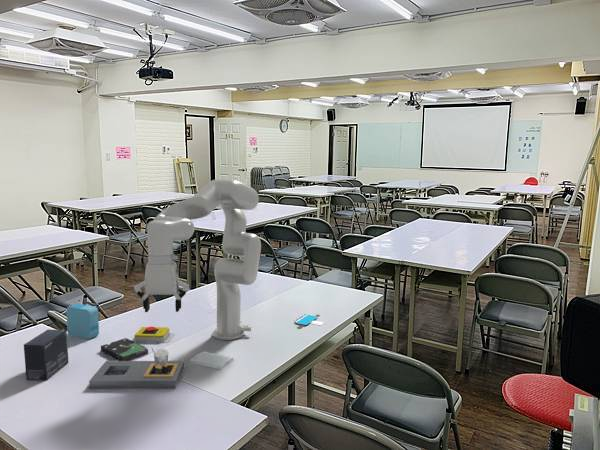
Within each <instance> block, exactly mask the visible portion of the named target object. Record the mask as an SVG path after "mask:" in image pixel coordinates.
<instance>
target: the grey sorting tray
mask: <svg viewBox="0 0 600 450" xmlns="http://www.w3.org/2000/svg"><path fill="white" fill-rule="evenodd" d="M185 367H186V366H185V360H168V363H167V375H156V368H155V360H130V361H118V360H106V361H105V362H104V363H103V364H102V365H101V366H100V368H99V369H98V370H96V372H95V374H94V375H93V376H92V377H91V378H90V379H89V381H88V387H89V390H98V389H99V390H100V389H101V390H103V389H104V390H109V389H110V390H111V389H114V390H115V389H116V390H117V389H119V390H120V389H121V390H122V389H126V390H127V389H129V390H130V389H131V390H132V389H135V390H136V389H138V390H141V389H142V390H143V389H150V390H151V389H177V386H178V383H179V382H180V379H181V377H182V374H183V373H184V371H185ZM111 374H114V375H111ZM116 374H117V375H116ZM119 374H120V375H119ZM122 374H123V375H122Z"/></svg>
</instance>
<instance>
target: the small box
mask: <svg viewBox="0 0 600 450" xmlns="http://www.w3.org/2000/svg"><path fill="white" fill-rule="evenodd" d="M67 334H68V332H67V329H46V330H45V331H44V332H42V333H40V334H39V335H37V336H35V337H34V338H32V339H30V340H29V341H27V342H26V343H24V344H23V354H24V355H23V356H24V364H25V365H24V366H25V379H26V381H48V380H49V379H50V378H52V377H53V376H54V375H56V373H58V372H59V371H60V370H61V369H62V368H64V367H65V366H66V365H67V364H69V352H68V351H69V350H68V338H67V337H68V335H67Z"/></svg>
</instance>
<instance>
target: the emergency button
mask: <svg viewBox="0 0 600 450" xmlns="http://www.w3.org/2000/svg"><path fill="white" fill-rule="evenodd" d="M174 337H175V333H174V332H173V333H172V332H171V333H170V327H164V326H161V327H160V326H159V327H158V326H142V327H141V328H140V329H138V331H137V332H135V334H134V337H133V338H132V339H130V340H131V341H134V342H136V343H159V344H160V343H163V344H164V343H165V344H166V343H167V344H169V343H170V342H171V341H172V339H173V338H174Z"/></svg>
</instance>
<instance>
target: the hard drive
mask: <svg viewBox="0 0 600 450" xmlns="http://www.w3.org/2000/svg"><path fill="white" fill-rule="evenodd" d="M189 361H190V363H191V364H195V365H199V366H204V367H208V368H214V369H218V370H223V369H224V368H225V367H226V366H228V364H230V363H231V362H232V361H234V357H230V356H225V355H222V354H217V353H212V352H207V351H201V352H200V353H199V354H197V355H195V356H194V357H192V358H191V359H190V360H189Z"/></svg>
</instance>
